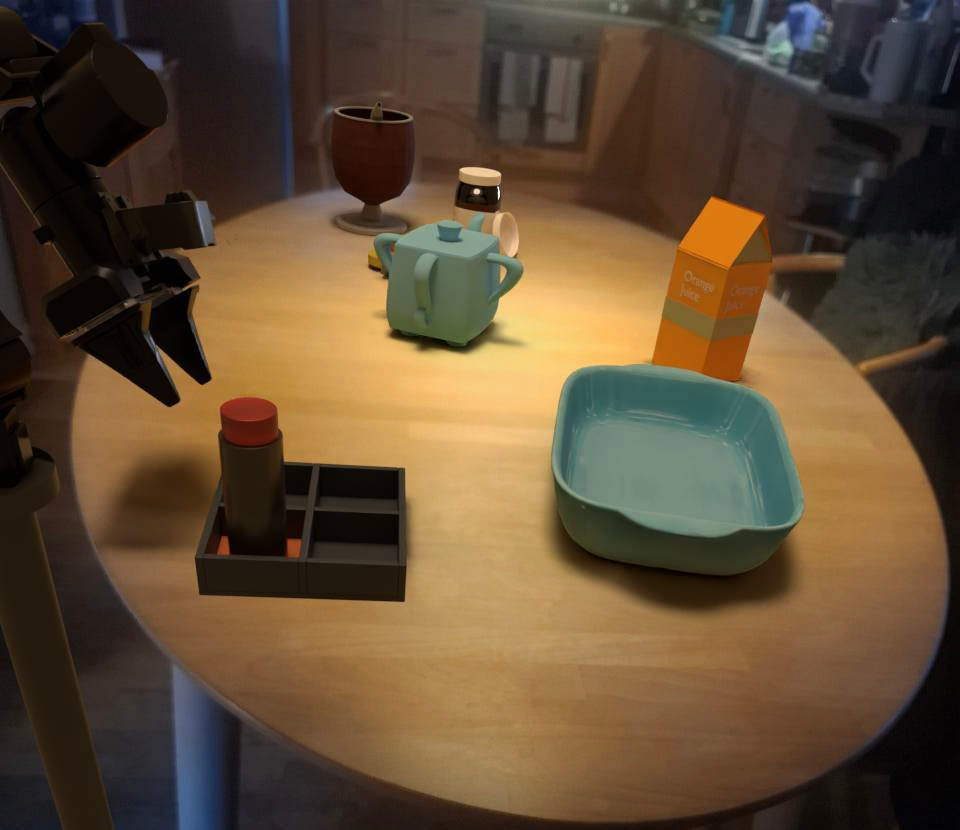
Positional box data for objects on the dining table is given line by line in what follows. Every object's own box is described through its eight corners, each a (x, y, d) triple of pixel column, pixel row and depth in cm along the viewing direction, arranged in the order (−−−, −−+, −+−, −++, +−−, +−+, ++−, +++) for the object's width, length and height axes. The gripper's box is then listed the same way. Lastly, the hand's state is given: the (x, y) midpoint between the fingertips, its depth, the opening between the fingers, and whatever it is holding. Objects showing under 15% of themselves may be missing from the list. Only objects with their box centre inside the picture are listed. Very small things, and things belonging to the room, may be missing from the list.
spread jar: (453, 237, 155) (458, 162, 147) (517, 244, 155) (526, 170, 148) (448, 256, 145) (454, 178, 138) (517, 264, 146) (526, 186, 138)
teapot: (522, 351, 115) (536, 242, 107) (400, 356, 110) (405, 241, 101) (475, 304, 128) (484, 203, 120) (364, 306, 123) (365, 200, 114)
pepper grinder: (221, 551, 72) (206, 400, 64) (275, 539, 74) (267, 391, 66) (241, 581, 69) (228, 426, 61) (297, 568, 71) (291, 417, 63)
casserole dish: (558, 406, 103) (568, 345, 98) (751, 434, 102) (769, 374, 97) (529, 583, 74) (540, 509, 69) (798, 625, 73) (827, 552, 68)
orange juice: (697, 388, 111) (742, 216, 99) (650, 362, 116) (687, 196, 104) (740, 379, 115) (788, 213, 102) (692, 354, 120) (733, 194, 108)
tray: (199, 595, 68) (194, 557, 66) (229, 493, 81) (225, 458, 78) (404, 602, 70) (406, 565, 68) (403, 501, 82) (405, 467, 80)
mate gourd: (329, 212, 159) (328, 82, 147) (406, 217, 162) (411, 90, 150) (334, 237, 148) (333, 98, 135) (417, 241, 150) (424, 105, 138)
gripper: (114, 132, 55) (252, 365, 61) (195, 149, 72) (297, 330, 78) (-28, 221, 57) (120, 437, 63) (83, 217, 74) (192, 389, 80)
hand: (192, 392), depth 71 cm, fingers open, 9 cm apart
